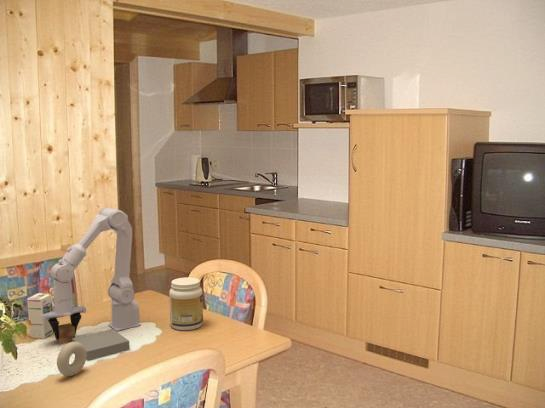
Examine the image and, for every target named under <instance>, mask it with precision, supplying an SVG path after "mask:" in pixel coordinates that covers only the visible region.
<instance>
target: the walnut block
mask: <svg viewBox="0 0 545 408" xmlns="http://www.w3.org/2000/svg"><path fill="white" fill-rule="evenodd" d="M75 337H76V335H75V327H74V326H73V325H72V324H71V322H68V323H63V324H59V339H56V338H55V341H57V343H58V344H59V345H66V344H68V343H70V342H72V338H75Z"/></svg>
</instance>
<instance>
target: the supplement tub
mask: <svg viewBox="0 0 545 408" xmlns="http://www.w3.org/2000/svg"><path fill="white" fill-rule="evenodd" d="M170 287H171V288H170V289H169V293H168V294H169V323H170V326H171V327H172V328H173V329H174V330H179V331H191V330H195V329H199V328H200V327H201V326H202V325H203V324H204V304H203V303H204V301H203V300H204V299H203V288H202V287H201V281H200V279H199V278H196V277H190V276H189V277H178V278H175V279H173V280H171V284H170Z"/></svg>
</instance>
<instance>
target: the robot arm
mask: <svg viewBox="0 0 545 408" xmlns="http://www.w3.org/2000/svg"><path fill="white" fill-rule="evenodd" d="M110 230H113V232H114V233H116V242H115V243H116V244H115V256H114V257H115V258H114V259H115V260H114V263H115V264H114V276H113V277H112V278H111V279H110V284H109V287H108V289H107V295H108V296H109V298H110V299H111V300H110V301H111V302H110V303H111V304H110V305H111V306H110V307H111V319H112V320H111V322H110V323H108V324H107V326H109V327H111V329H114V330H115V331H116V332H118V331H122V330H126V329H131V328H134V327H138V326H139V327H140V326H141V321H140V305H139V303H138V301H137V300H136V299H134V298H135V294H136V293H135V290H134V287H133V286H134V284H133V281H132V280H131V278H130V274H131V258H132V246H133V245H132V244H133V242H132V241H133V227H132V225H131V223H130V221H129V216H128V214H127V213H125V212H124V211H123V210H121V209H114V208H112V207H109V206H106V207H103V208H102V209H101V210H99V213H97V214H96V215H95V217H94V218H93V221H92V222H91V224H90V226H89V227H88V228H87V230H86V231H85V233H84V234H83V236H82V237H81V238H80V240H79V241H78V243H76V244H72V245H71V246H68V247H67V248H66V252H65V254H64V255H63V256H62V258H61V259H58V260H57V262H58V263H55V264H54V265H53V266H52V267H51V270H50V271H49V275H50V277H51V278H52V279H53V280H52V283H53V299H54V310H52V312H49V313H45V314H41V320H42V321H46V320H48V322H49V323H50V325H51V327H52V329H53V332H54V333H53V334H54V338H55V340H56V339H59V325H60V321H59V320H58V319H59V318H63V317H69V319H70V324H72V325H73V326H74V327H75V336H76V335H77V329H78V325H79V323H80V321H81V319H82V314H86V313H87V307H86V306H85V305H81V306H74V305H73V291H72V290H73V289H72V287H73V285H72V279H73V278H74V276H75V270H76V268H78V266H79V265H80V264H81V263H82V261H83V260H84V259H85V257H86V256H87V250H88V248H89V247H90V246H91V244H92V243H93V242H94V241H95V240H96V239H97V237H98V236H100V234H101V233H102V232H107V231H110Z"/></svg>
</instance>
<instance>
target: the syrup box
mask: <svg viewBox="0 0 545 408" xmlns="http://www.w3.org/2000/svg"><path fill="white" fill-rule="evenodd" d="M26 301H27V313H28V321H29V320H30V321H31V323H32V324H33V326H30V325H28V328H29V337H30V338H33V339H44V340H45V339H46V338H47V337H49V336H50V335H52V334H54V332H53V329H52V327H51V325H50V323H49V322H48V320H46V321H42V320H41V314H45V313H49V312H52V311H53V305H52V304H53V303H52V294H51V293H44V292H43V293H36V294H34V295H32V296H30V297H27V299H26Z"/></svg>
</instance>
